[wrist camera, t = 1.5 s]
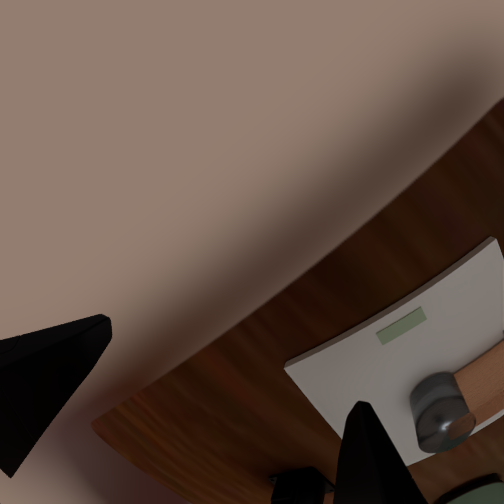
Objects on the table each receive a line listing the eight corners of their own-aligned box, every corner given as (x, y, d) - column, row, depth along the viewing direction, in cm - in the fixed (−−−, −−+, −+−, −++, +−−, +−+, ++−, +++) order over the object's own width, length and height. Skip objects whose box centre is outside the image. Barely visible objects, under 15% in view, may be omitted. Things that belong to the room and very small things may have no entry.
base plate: (526, 390, 18) (530, 396, 17) (375, 471, 25) (375, 478, 24) (490, 236, 17) (497, 239, 16) (285, 361, 24) (283, 369, 23)
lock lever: (418, 422, 21) (426, 460, 16) (402, 391, 21) (410, 432, 16) (526, 352, 17) (549, 381, 12) (520, 314, 16) (548, 341, 12)
